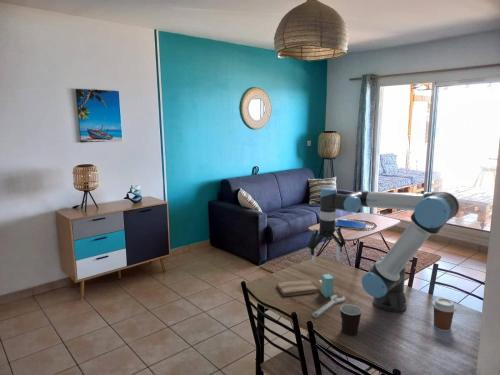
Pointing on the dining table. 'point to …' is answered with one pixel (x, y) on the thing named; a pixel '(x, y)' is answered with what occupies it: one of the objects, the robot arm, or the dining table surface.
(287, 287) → the walnut board
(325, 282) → the light blue block
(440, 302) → the coffee cup
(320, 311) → the adjustable wrench
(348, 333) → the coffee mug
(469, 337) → the dining table surface
